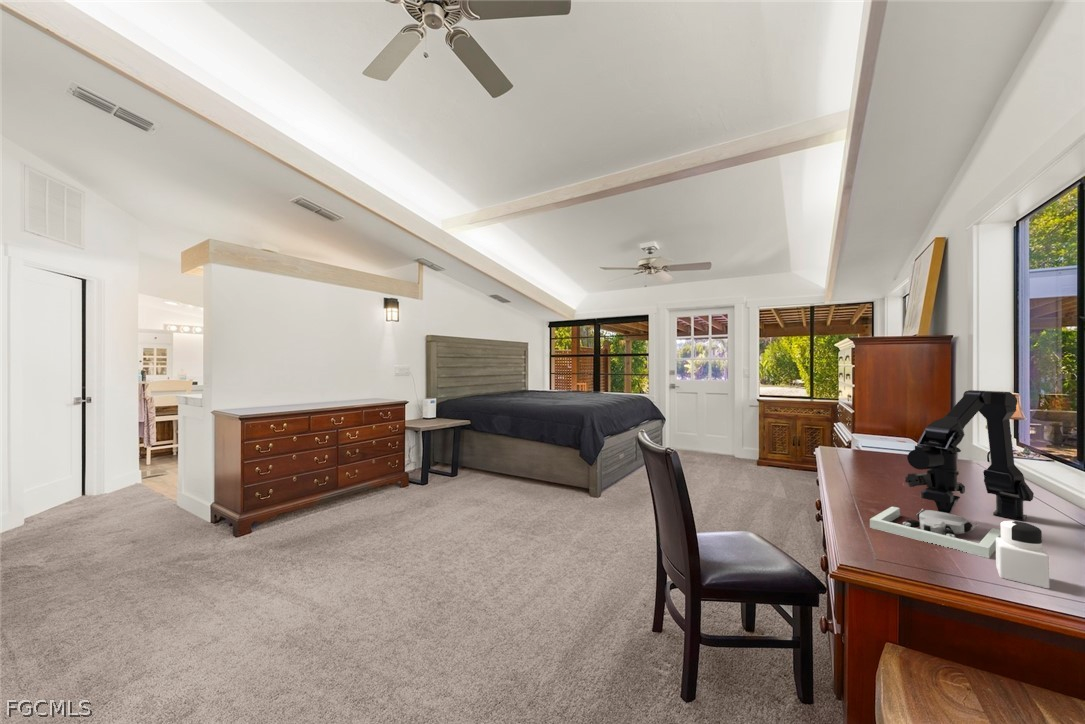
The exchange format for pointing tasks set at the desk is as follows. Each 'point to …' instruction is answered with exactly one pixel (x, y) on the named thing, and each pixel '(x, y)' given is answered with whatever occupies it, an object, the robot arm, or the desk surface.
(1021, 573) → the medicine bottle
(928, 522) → the robot toy
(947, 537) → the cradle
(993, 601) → the desk surface
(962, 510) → the desk surface
